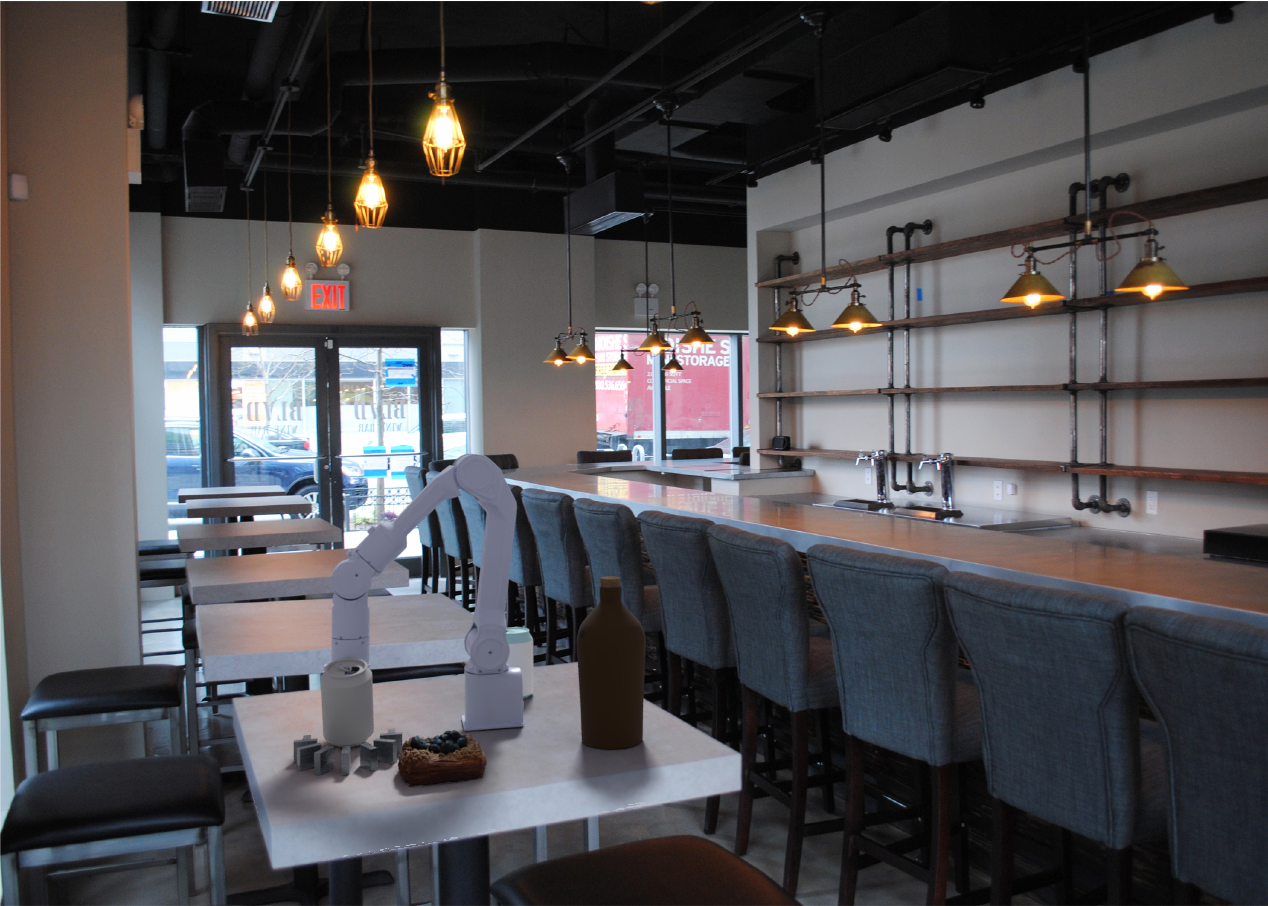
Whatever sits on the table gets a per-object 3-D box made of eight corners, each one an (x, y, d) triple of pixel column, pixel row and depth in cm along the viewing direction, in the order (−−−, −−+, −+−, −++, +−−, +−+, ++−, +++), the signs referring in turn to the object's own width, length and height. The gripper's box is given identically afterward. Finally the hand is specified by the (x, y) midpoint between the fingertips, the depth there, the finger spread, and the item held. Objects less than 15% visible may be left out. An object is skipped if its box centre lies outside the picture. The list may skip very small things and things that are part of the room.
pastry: (394, 766, 137) (393, 725, 137) (477, 756, 141) (477, 716, 141) (402, 792, 127) (401, 748, 126) (492, 780, 131) (492, 738, 130)
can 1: (357, 754, 143) (354, 681, 140) (313, 745, 145) (309, 672, 142) (383, 729, 150) (381, 658, 147) (340, 720, 152) (337, 651, 149)
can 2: (499, 703, 169) (498, 635, 169) (490, 693, 175) (489, 628, 175) (538, 698, 171) (537, 631, 171) (527, 689, 178) (527, 625, 178)
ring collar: (402, 747, 144) (402, 727, 144) (401, 770, 134) (401, 748, 134) (296, 756, 141) (296, 735, 141) (287, 779, 131) (287, 757, 131)
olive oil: (625, 755, 140) (623, 584, 139) (564, 745, 145) (562, 580, 145) (658, 735, 149) (657, 575, 149) (600, 726, 154) (598, 571, 154)
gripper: (328, 628, 157) (327, 711, 157) (319, 646, 143) (318, 737, 143) (373, 627, 158) (372, 709, 158) (368, 645, 144) (367, 735, 144)
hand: (349, 722), depth 151 cm, fingers closed, pressing on can 1
